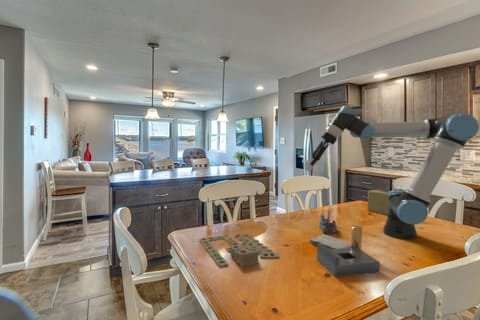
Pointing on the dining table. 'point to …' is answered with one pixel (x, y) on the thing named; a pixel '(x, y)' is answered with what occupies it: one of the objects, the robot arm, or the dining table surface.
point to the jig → (346, 261)
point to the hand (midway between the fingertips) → (306, 168)
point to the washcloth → (330, 242)
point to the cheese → (378, 201)
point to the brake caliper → (327, 224)
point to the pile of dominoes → (239, 250)
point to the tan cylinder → (356, 237)
